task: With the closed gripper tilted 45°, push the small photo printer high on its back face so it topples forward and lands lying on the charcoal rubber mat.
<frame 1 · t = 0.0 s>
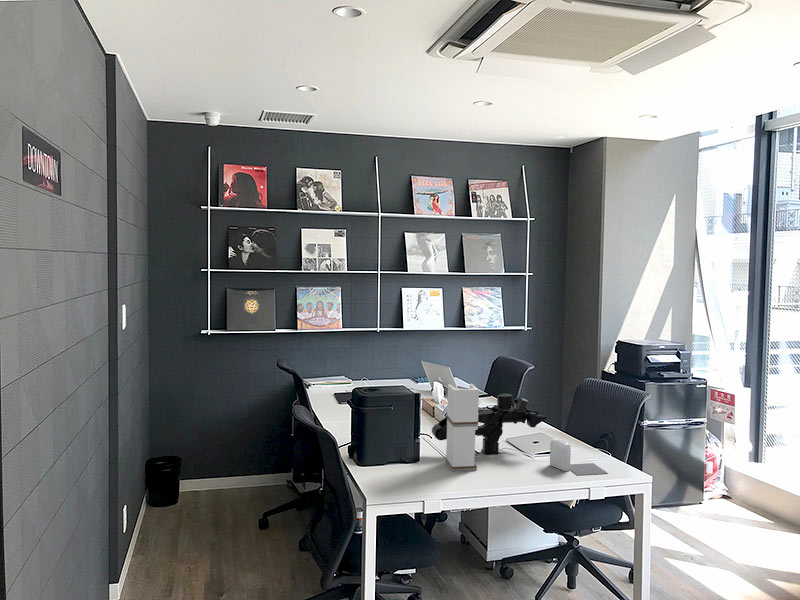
hand: (542, 415, 315), 17 cm above the table, tool horizontal, fingers open, 9 cm apart
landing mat: (585, 469, 290), on the table
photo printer: (559, 468, 292), on the table
stacked white pillar: (461, 467, 291), on the table
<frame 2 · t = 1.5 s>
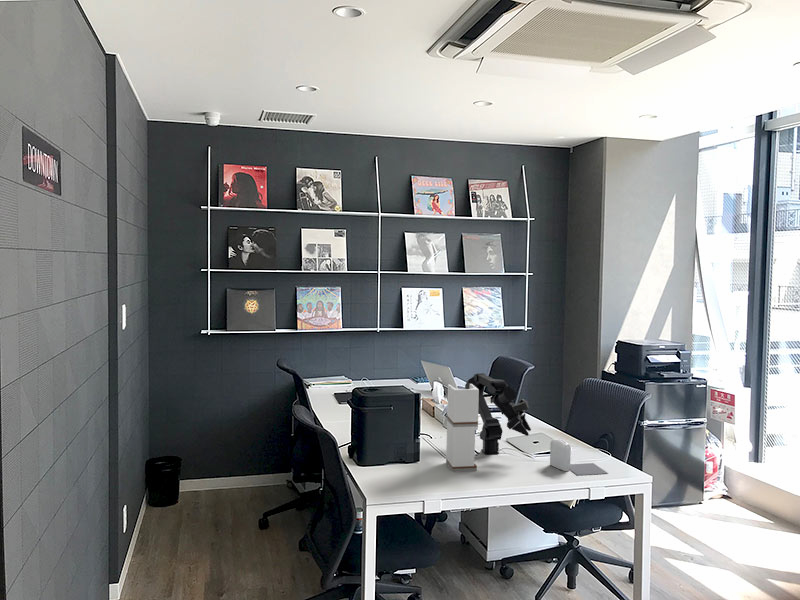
hand: (529, 432, 297), 13 cm above the table, tool tilted 45°, fingers open, 8 cm apart
nothing on the table moved.
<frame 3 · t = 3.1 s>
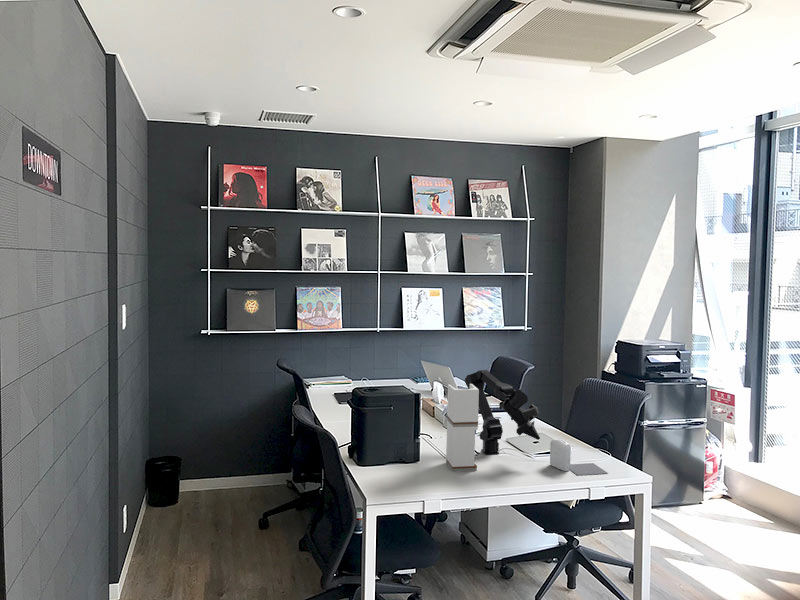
hand: (539, 438, 293), 12 cm above the table, tool tilted 45°, fingers closed
nothing on the table moved.
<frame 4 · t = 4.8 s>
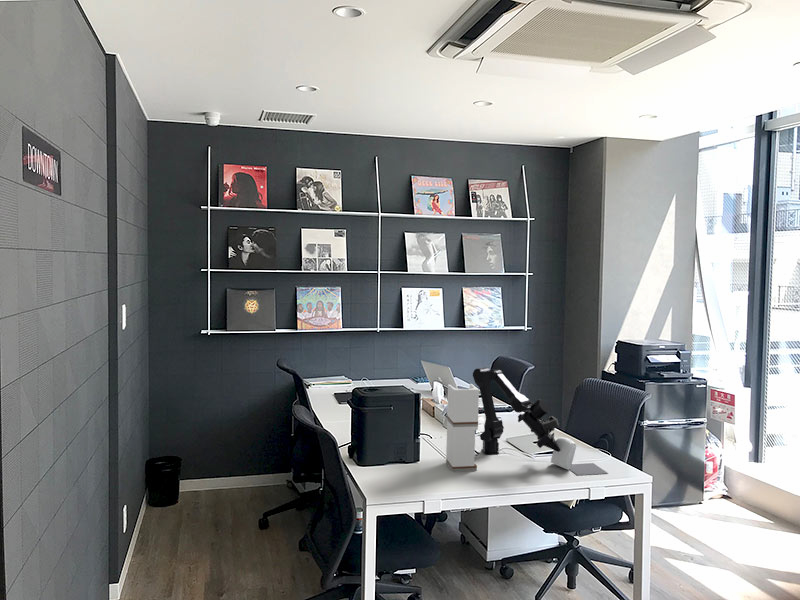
hand: (559, 451, 291), 7 cm above the table, tool tilted 45°, fingers closed
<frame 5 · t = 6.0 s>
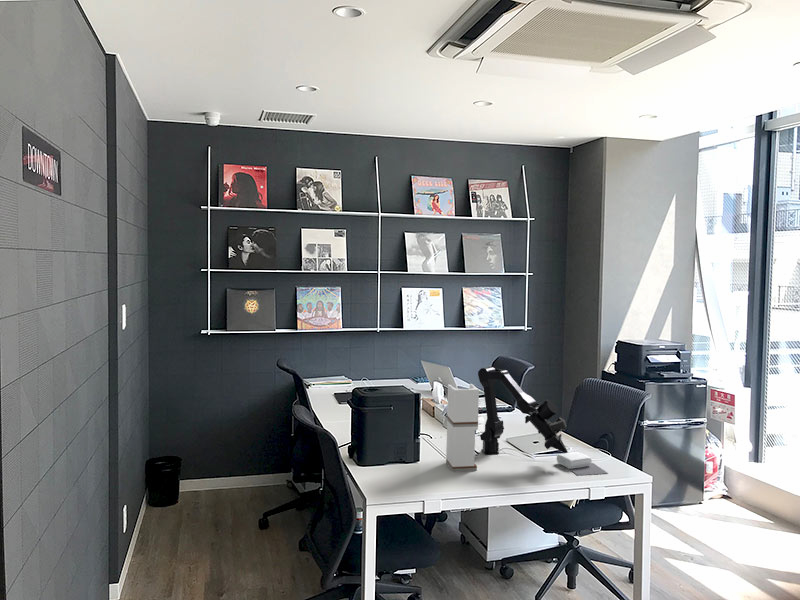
hand: (566, 452, 290), 7 cm above the table, tool tilted 45°, fingers closed
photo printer: (563, 461, 292), point 2 cm above the table, touching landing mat
everything else where it was.
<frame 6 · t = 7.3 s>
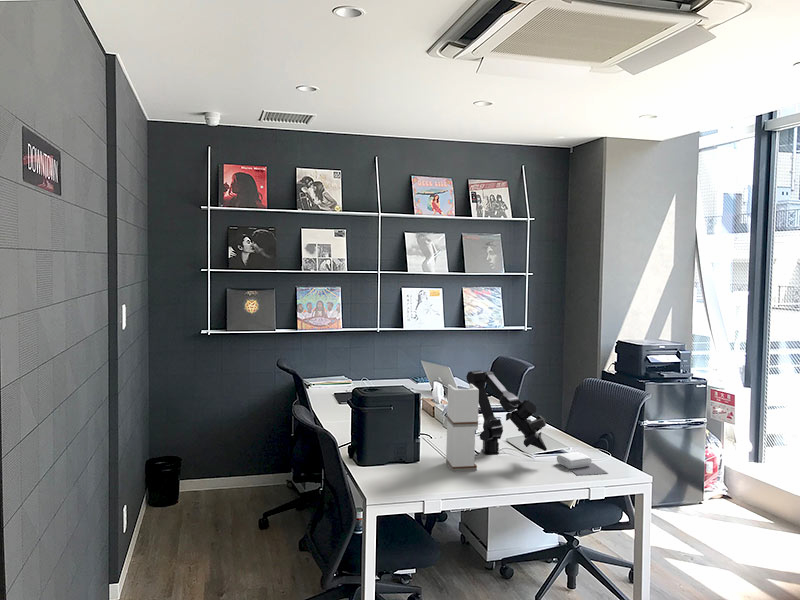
hand: (546, 450, 293), 7 cm above the table, tool tilted 45°, fingers closed
nothing on the table moved.
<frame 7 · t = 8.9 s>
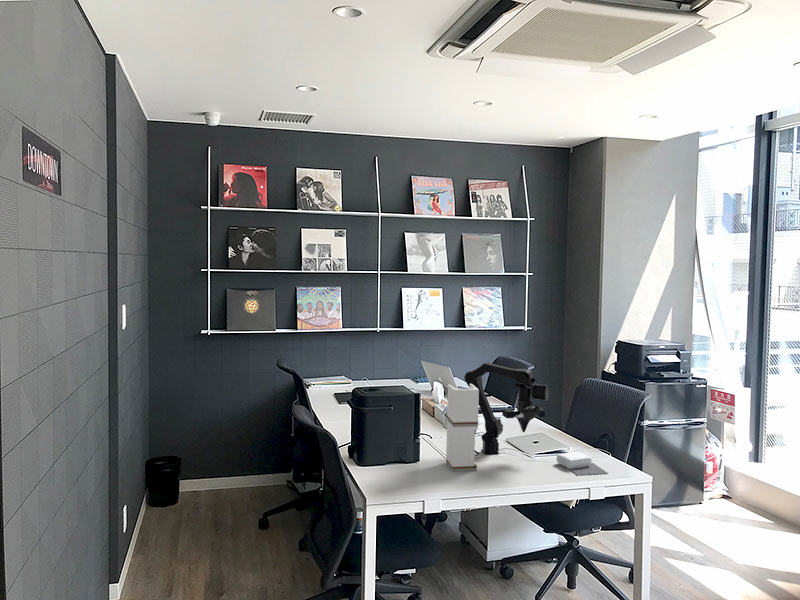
hand: (523, 431, 303), 12 cm above the table, tool pointing down, fingers closed
nothing on the table moved.
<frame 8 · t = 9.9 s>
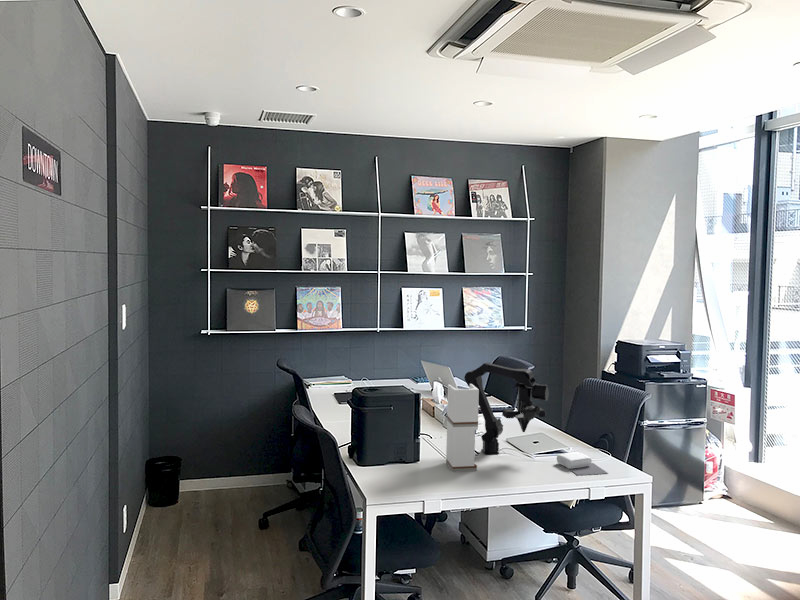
hand: (523, 431, 303), 12 cm above the table, tool pointing down, fingers closed
nothing on the table moved.
at the end: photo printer tilted 90°; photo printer inside the target area (3.8 cm from its centre), point 2.4 cm above the table; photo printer touching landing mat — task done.
